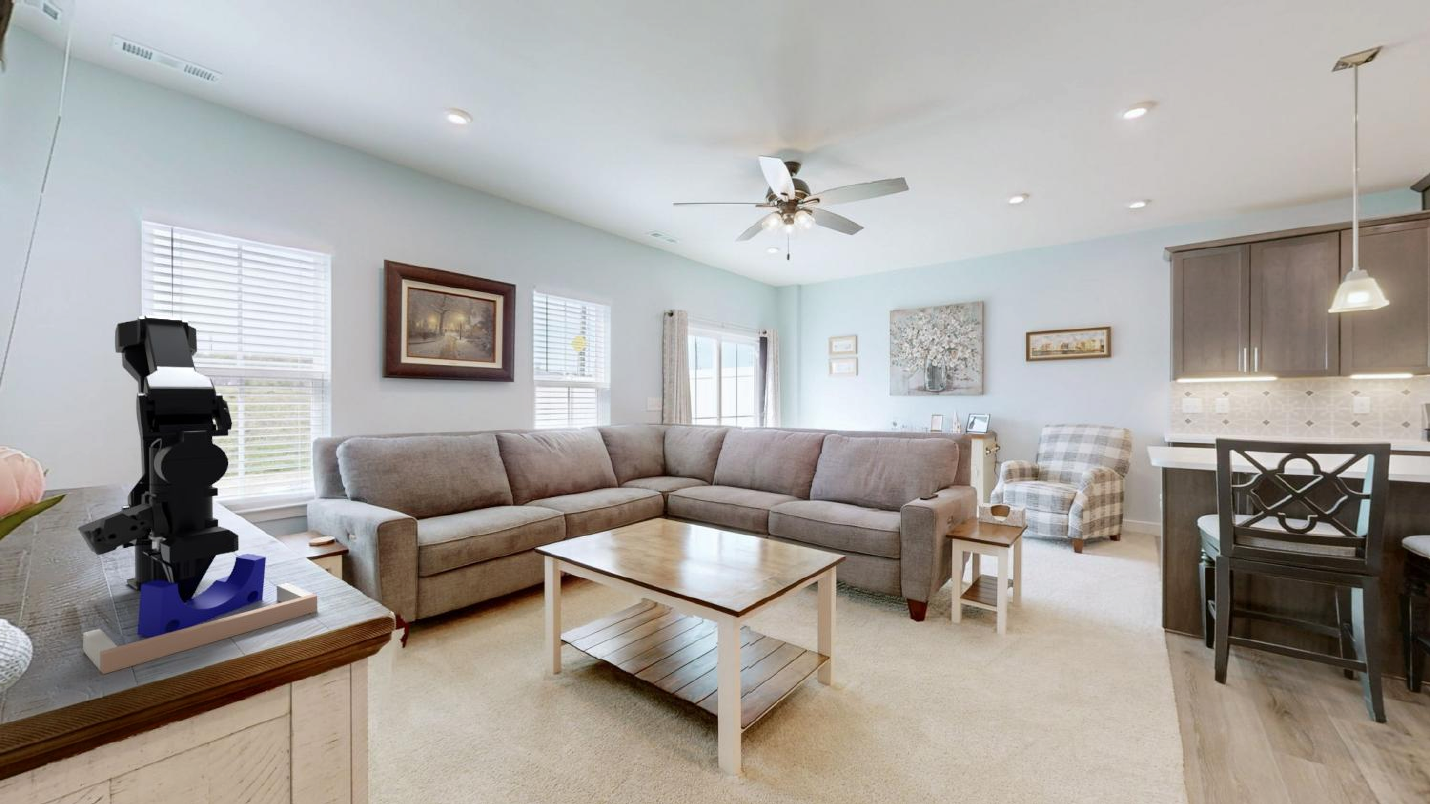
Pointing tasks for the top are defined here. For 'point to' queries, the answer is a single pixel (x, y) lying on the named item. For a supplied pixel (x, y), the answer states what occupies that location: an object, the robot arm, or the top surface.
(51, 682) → the top surface
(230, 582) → the blue half clamp
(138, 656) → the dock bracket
